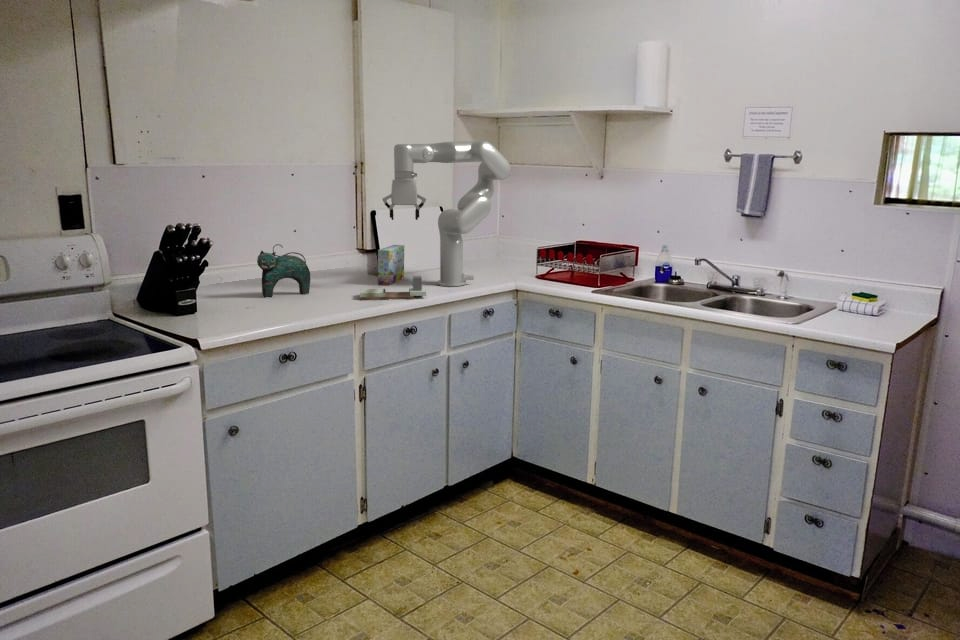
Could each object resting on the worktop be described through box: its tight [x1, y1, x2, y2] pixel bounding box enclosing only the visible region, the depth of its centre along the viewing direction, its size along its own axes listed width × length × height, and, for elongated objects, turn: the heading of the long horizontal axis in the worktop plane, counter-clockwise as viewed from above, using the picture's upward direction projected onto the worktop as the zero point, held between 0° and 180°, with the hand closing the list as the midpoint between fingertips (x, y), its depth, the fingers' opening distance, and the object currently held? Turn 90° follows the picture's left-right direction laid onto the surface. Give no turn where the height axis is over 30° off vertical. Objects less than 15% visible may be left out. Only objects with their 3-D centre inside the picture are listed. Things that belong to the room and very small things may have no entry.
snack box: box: [377, 244, 405, 286], centre depth 315 cm, size 21×6×15 cm, turn 168°
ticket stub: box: [408, 275, 427, 297], centre depth 281 cm, size 6×9×6 cm, turn 8°
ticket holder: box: [359, 288, 414, 301], centre depth 280 cm, size 20×11×3 cm, turn 98°
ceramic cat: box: [256, 243, 311, 298], centre depth 280 cm, size 20×6×20 cm, turn 121°
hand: (404, 219), depth 292 cm, fingers open, 9 cm apart
